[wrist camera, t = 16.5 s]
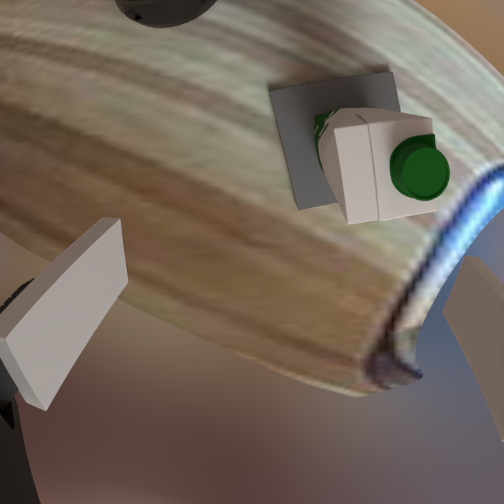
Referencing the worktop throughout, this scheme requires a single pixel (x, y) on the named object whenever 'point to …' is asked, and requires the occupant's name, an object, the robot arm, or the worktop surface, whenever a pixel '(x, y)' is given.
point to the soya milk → (380, 162)
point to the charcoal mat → (303, 122)
